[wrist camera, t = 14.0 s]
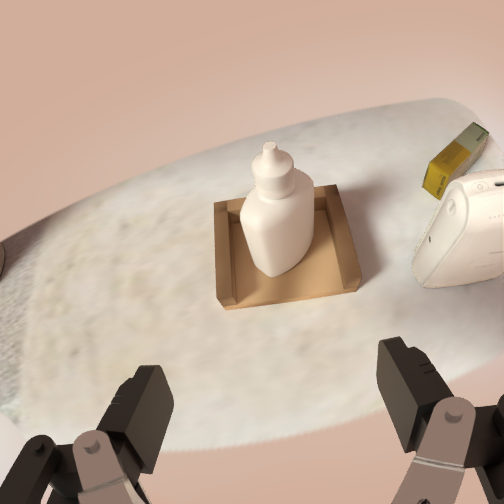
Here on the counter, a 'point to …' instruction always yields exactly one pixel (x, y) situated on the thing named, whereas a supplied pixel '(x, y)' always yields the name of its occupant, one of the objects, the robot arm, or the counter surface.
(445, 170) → the medication box
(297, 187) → the eye dropper bottle
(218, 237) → the oak tray
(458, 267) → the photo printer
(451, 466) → the robot arm
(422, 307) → the counter surface
